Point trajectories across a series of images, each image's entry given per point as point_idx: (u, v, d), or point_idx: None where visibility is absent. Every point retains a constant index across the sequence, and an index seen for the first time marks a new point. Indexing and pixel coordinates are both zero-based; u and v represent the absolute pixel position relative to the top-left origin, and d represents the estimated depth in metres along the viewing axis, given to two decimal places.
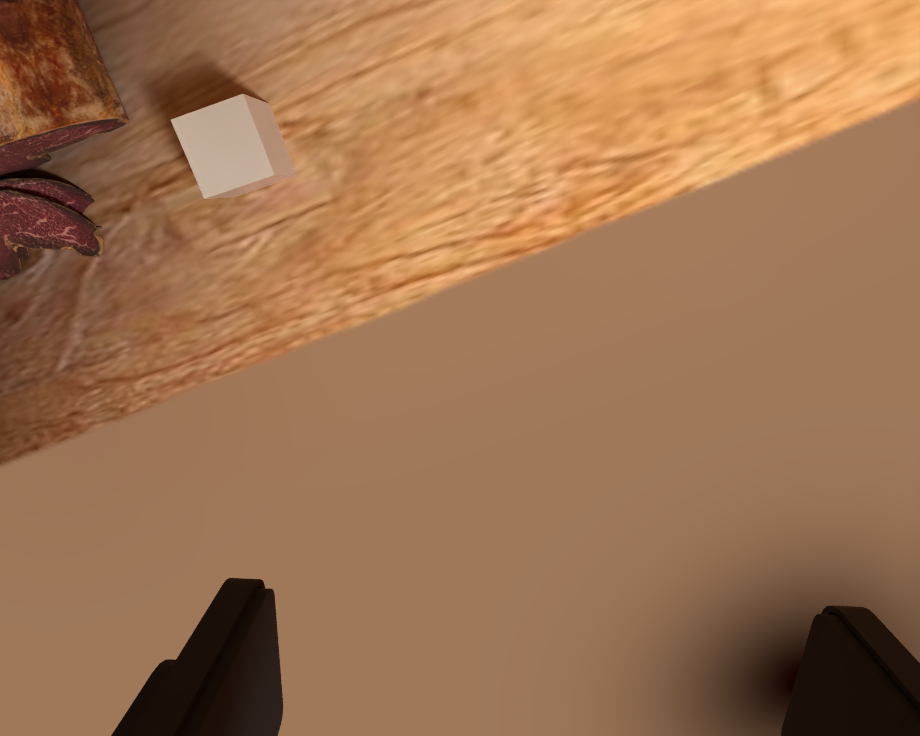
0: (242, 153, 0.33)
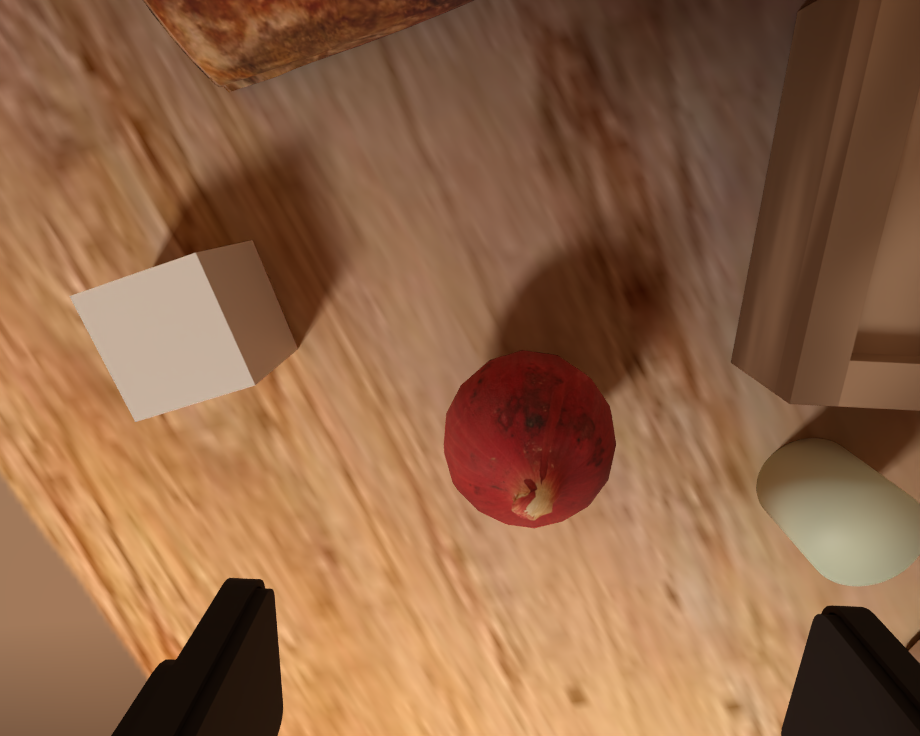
0: (159, 372, 0.19)
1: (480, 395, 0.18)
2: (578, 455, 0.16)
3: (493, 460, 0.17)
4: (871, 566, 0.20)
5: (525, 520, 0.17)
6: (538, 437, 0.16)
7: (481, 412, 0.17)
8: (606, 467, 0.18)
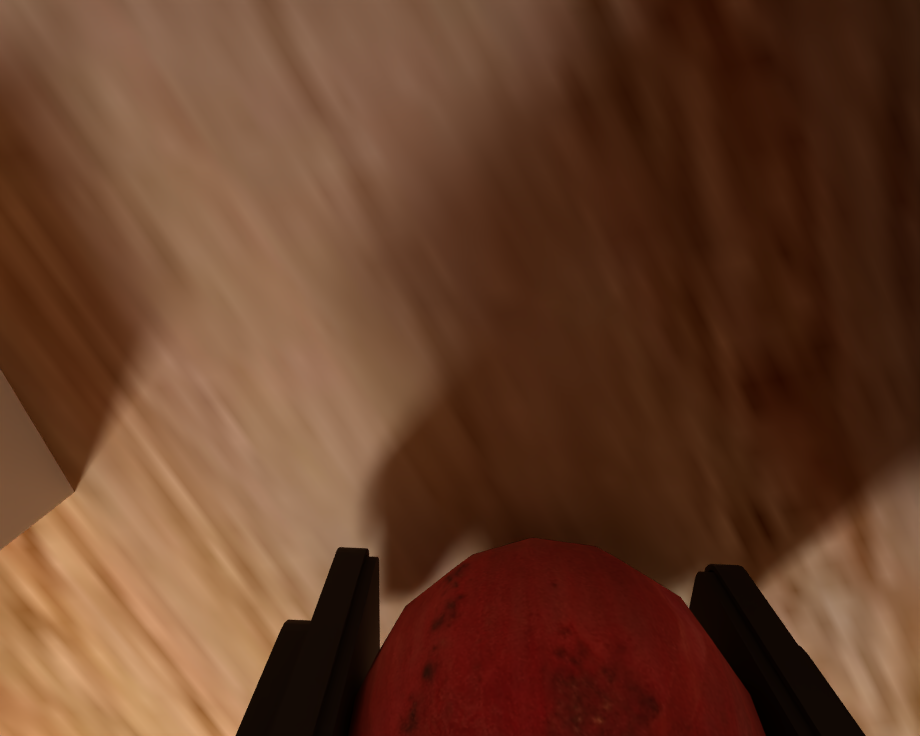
0: None
1: (426, 734, 0.06)
2: None
3: None
4: None
5: None
6: None
7: None
8: None
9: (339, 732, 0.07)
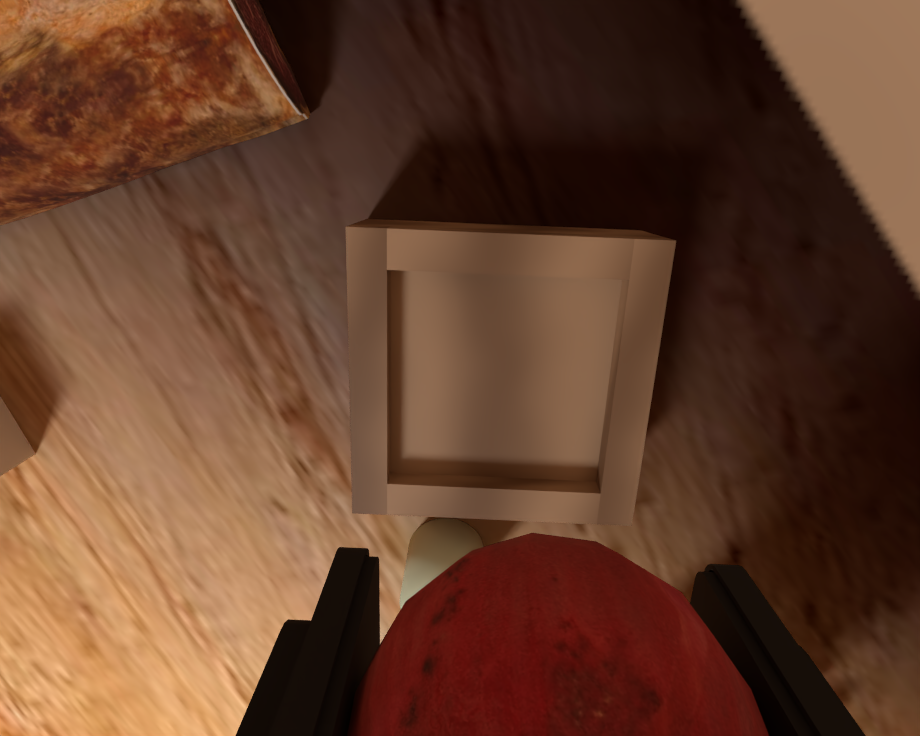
0: None
1: (426, 729, 0.06)
2: None
3: None
4: None
5: None
6: None
7: None
8: None
9: (339, 732, 0.07)
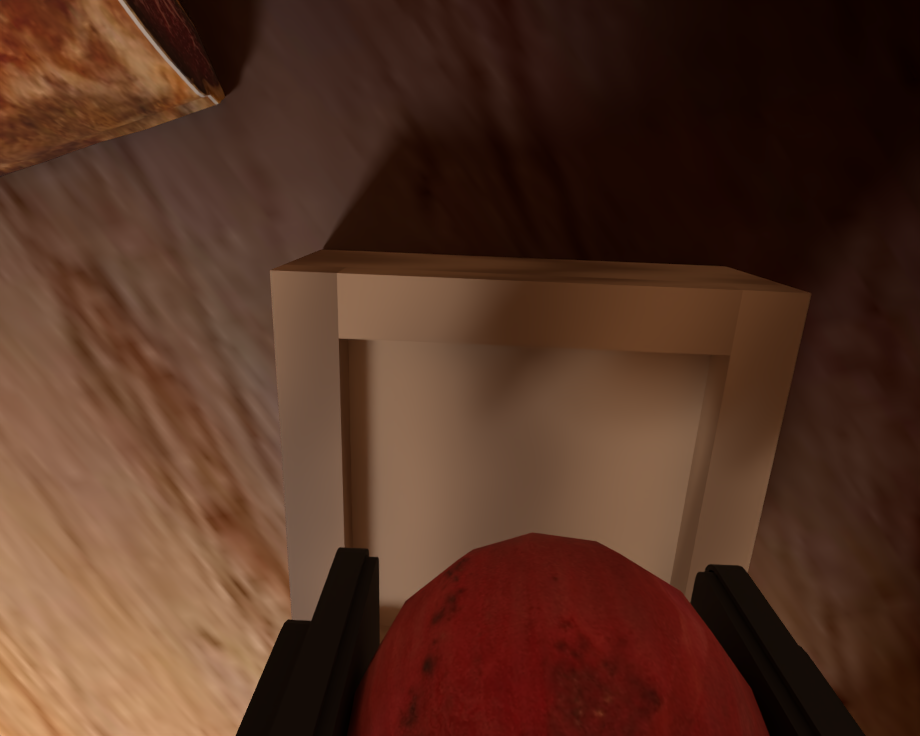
0: None
1: (426, 728, 0.06)
2: None
3: None
4: None
5: None
6: None
7: None
8: None
9: (339, 732, 0.07)
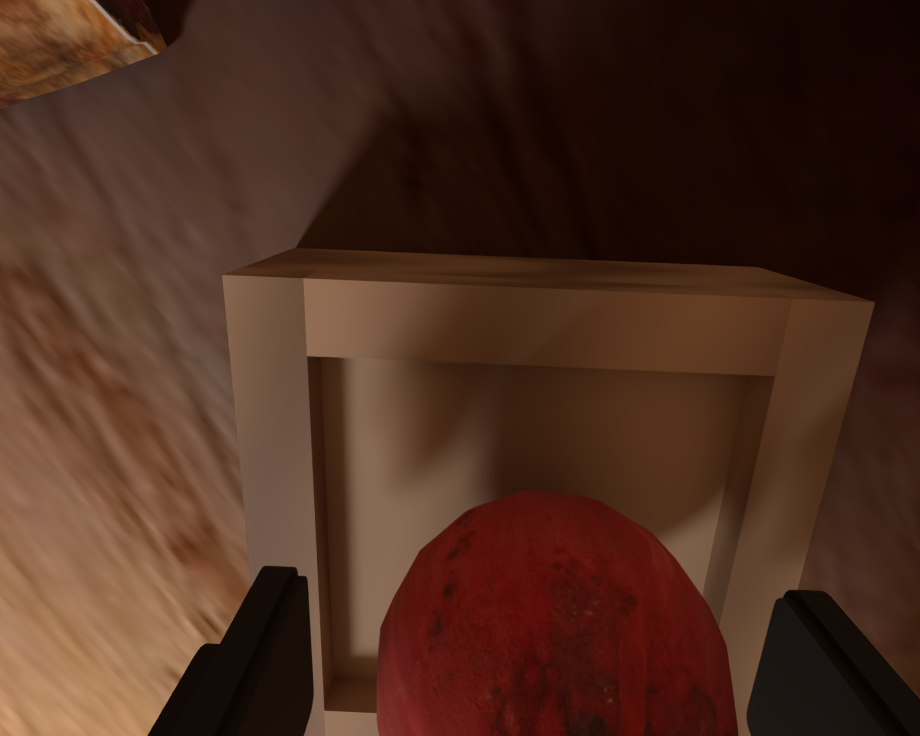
0: None
1: (451, 636, 0.08)
2: None
3: None
4: None
5: None
6: None
7: (455, 688, 0.07)
8: None
9: None
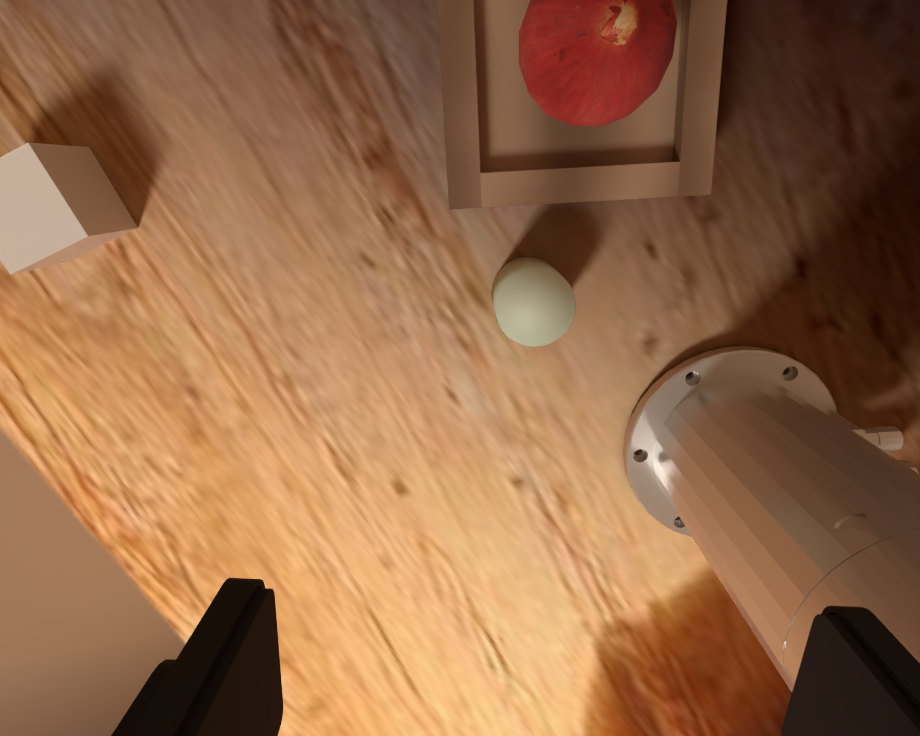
0: (20, 234, 0.27)
1: None
2: None
3: (577, 9, 0.19)
4: (544, 329, 0.29)
5: (607, 76, 0.20)
6: None
7: None
8: (673, 27, 0.20)
9: None
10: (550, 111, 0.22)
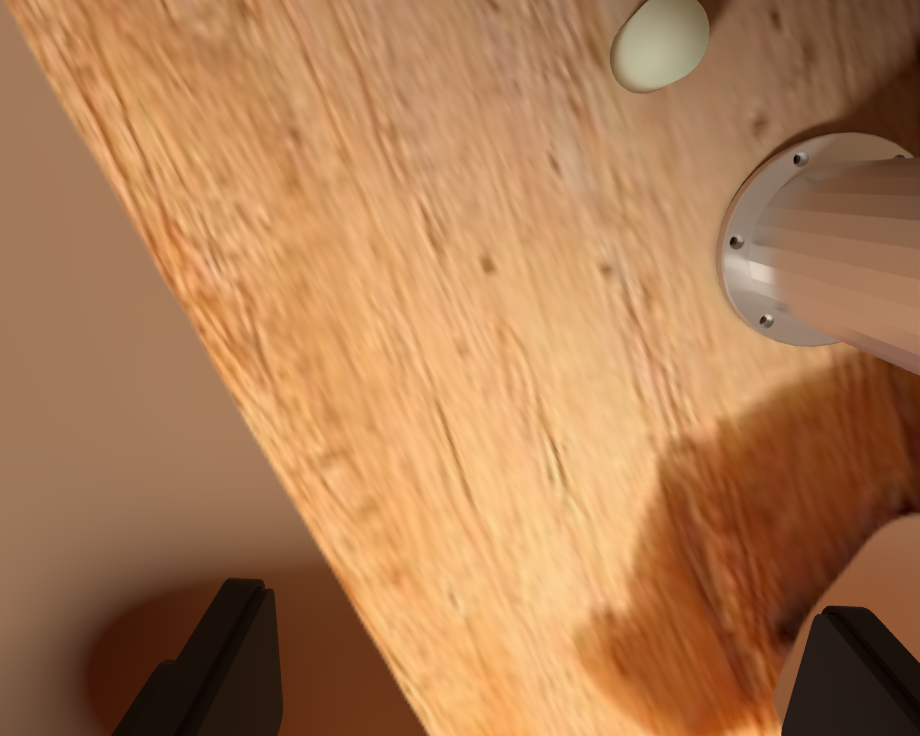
0: None
1: None
2: None
3: None
4: (673, 63, 0.29)
5: None
6: None
7: None
8: None
9: None
10: None
